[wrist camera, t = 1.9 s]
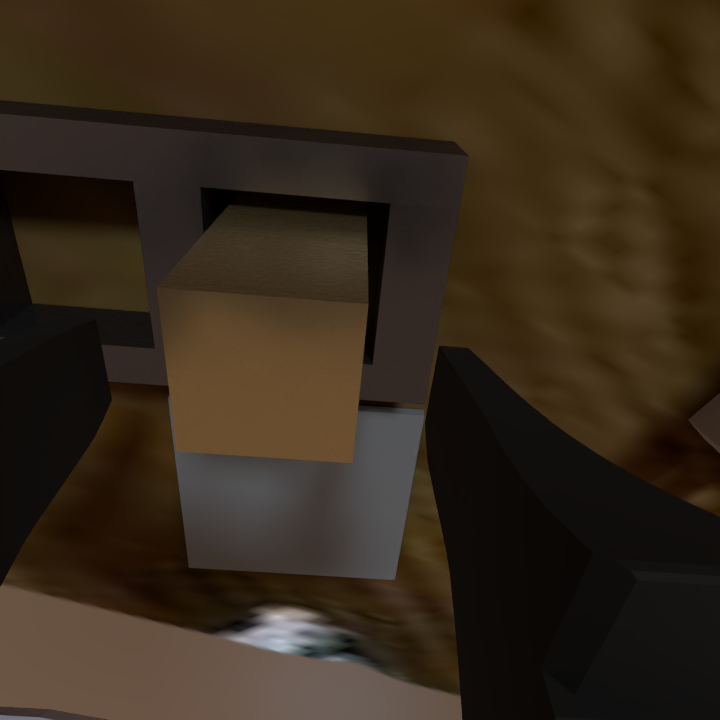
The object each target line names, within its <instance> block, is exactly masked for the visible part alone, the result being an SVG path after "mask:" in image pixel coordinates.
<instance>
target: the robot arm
mask: <svg viewBox="0 0 720 720" xmlns="http://www.w3.org/2000/svg"><path fill="white" fill-rule="evenodd" d="M111 401H112V398H111V392H110V387H109V382H108V377H107V371H106V366H105V361H104V356H103V350H102V345H101V340H100V335H99V329H98V324H97V319H91V318H78V317H63V318H59V319H55V320H52V321H49V322H46V323H43V324H40V325H37V326H34V327H31V328H29V329H26V330H23V331H21V332H18V333H15V334H13V335H10V336H8V337H5V338H2V339H0V586H1V584H2V582H3V581H4V579H5V577H6V575H7V573H8V571H9V569H10V568H11V566H12V564H13V562H14V560H15V558H16V556H17V554H18V553H19V551H20V549H21V547H22V545H23V543H24V542H25V540H26V539H27V537H28V535H29V534H30V532H31V531H32V529H33V527H34V526H35V524H36V523H37V521H38V520H39V518H40V517H41V515H42V514H43V513H44V511H45V510H46V508H47V507H48V505H49V504H50V502H51V501H52V499H53V498H54V497H55V495H56V494H57V492H58V491H59V489H60V488H61V486H62V485H63V483H64V482H65V481H66V479H67V478H68V476H69V475H70V473H71V472H72V470H73V469H74V467H75V466H76V464H77V463H78V461H79V460H80V458H81V457H82V456H83V454H84V453H85V451H86V450H87V448H88V447H89V445H90V443H91V442H92V440H93V439H94V437H95V435H96V433H97V431H98V429H99V427H100V425H101V423H102V421H103V419H104V416H105V414H106V412H107V410H108V407H109V405H110V403H111ZM425 430H426V446H427V459H428V466H429V471H430V476H431V480H432V485H433V490H434V495H435V500H436V504H437V509H438V514H439V519H440V523H441V528H442V533H443V537H444V542H445V547H446V552H447V558H448V564H449V570H450V579H451V589H452V599H453V608H454V618H455V630H456V641H457V653H458V664H459V678H460V692H461V705H462V719H463V720H720V517H719V516H717V515H714V514H712V513H710V512H708V511H706V510H703V509H701V508H699V507H697V506H695V505H693V504H690V503H688V502H686V501H684V500H682V499H679V498H677V497H675V496H673V495H671V494H669V493H667V492H665V491H663V490H661V489H659V488H657V487H655V486H653V485H651V484H649V483H647V482H645V481H644V480H642V479H640V478H638V477H636V476H635V475H633V474H631V473H629V472H627V471H626V470H624V469H622V468H620V467H618V466H617V465H615V464H613V463H611V462H610V461H608V460H607V459H605V458H603V457H602V456H600V455H598V454H597V453H595V452H594V451H592V450H591V449H589V448H588V447H586V446H585V445H583V444H582V443H580V442H579V441H577V440H576V439H574V438H573V437H571V436H570V435H568V434H567V433H565V432H564V431H563V430H561V429H560V428H559V427H557V426H556V425H555V424H553V423H552V422H551V421H550V420H548V419H547V418H546V417H544V416H543V415H542V414H541V413H539V412H538V411H537V410H536V409H534V408H533V407H532V406H531V405H530V404H529V403H527V402H526V401H525V400H524V399H523V398H522V397H520V396H519V395H518V394H517V393H516V392H515V391H514V390H513V389H511V388H510V387H509V386H508V385H507V384H506V383H505V382H504V381H503V380H502V379H501V378H500V377H499V376H497V375H496V374H495V373H494V372H493V371H492V370H491V369H490V368H489V367H488V366H487V365H486V364H485V363H484V362H483V361H482V360H481V359H480V358H479V357H478V356H476V355H475V354H474V353H473V352H472V351H471V350H470V349H468V348H461V347H449V346H439V349H438V355H437V360H436V366H435V371H434V377H433V382H432V388H431V393H430V399H429V404H428V409H427V415H426V420H425ZM0 720H106V719H100V718H94V717H89V716H83V715H78V714H73V713H67V712H62V711H56V710H50V709H33V708H14V707H0Z"/></svg>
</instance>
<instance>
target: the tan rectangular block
mask: <svg viewBox="0 0 720 720" xmlns="http://www.w3.org/2000/svg"><path fill="white" fill-rule="evenodd" d="M157 295H158V303H159V311H160V319H161V328H162V336H163V344H164V352H165V361H166V369H167V377H168V385H169V394H170V402H171V410H172V418H173V427H174V435H175V443H176V451H178V452H193V453H207V454H222V455H237V456H252V457H266V458H281V459H296V460H311V461H325V462H340V463H353V454H354V444H355V434H356V424H357V414H358V404H359V394H360V384H361V375H362V365H363V355H364V345H365V335H366V325H367V315H368V305H369V302H368V249H367V201H356V200H345V199H333V198H322V197H310V196H298V195H287V194H275V193H264V192H252V191H241V192H240V193H239V194H238V195H237V196H236V197H235V198H234V200H233V201H232V202H231V203H230V204H229V205H228V206H227V208H226V209H225V210H224V211H223V212H222V213H221V214H220V216H219V217H218V218H217V219H216V220H215V221H214V222H213V224H212V225H211V226H210V227H209V228H208V229H207V230H206V232H205V233H204V234H203V235H202V236H201V237H200V238H199V240H198V241H197V242H196V243H195V244H194V245H193V246H192V248H191V249H190V250H189V251H188V252H187V253H186V254H185V256H184V257H183V258H182V259H181V260H180V261H179V262H178V264H177V265H176V266H175V267H174V268H173V269H172V270H171V272H170V273H169V274H168V275H167V276H166V277H165V278H164V280H163V281H162V282H161V283H160V284H159V285H158V286H157Z"/></svg>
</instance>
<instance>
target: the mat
mask: <svg viewBox="0 0 720 720" xmlns="http://www.w3.org/2000/svg"><path fill="white" fill-rule="evenodd" d="M168 403H169V411H170V419H171V427H172V435H173V443H174V451H175V459H176V467H177V476H178V484H179V492H180V500H181V508H182V516H183V524H184V532H185V540H186V548H187V556H188V565H189V568H202V569H219V570H236V571H252V572H269V573H286V574H303V575H320V576H336V577H353V578H370V579H387V580H395V575H396V570H397V564H398V559H399V553H400V548H401V542H402V537H403V531H404V526H405V520H406V514H407V509H408V503H409V498H410V492H411V487H412V481H413V476H414V470H415V465H416V459H417V453H418V448H419V442H420V437H421V431H422V426H423V420H424V411H423V410H420V409H406V408H392V407H378V406H364V405H358V414H357V424H356V434H355V444H354V454H353V463H340V462H325V461H311V460H296V459H281V458H266V457H252V456H237V455H222V454H207V453H193V452H178V451H176V443H175V435H174V427H173V418H172V410H171V402H170V395H169V396H168Z"/></svg>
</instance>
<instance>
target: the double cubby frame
mask: <svg viewBox="0 0 720 720" xmlns="http://www.w3.org/2000/svg"><path fill="white" fill-rule="evenodd" d="M468 157H469V156H468V155H467V154H466V153H465V152H464V151H463V150H462V149H461V148H460V147H459V146H458V145H457V144H456V143H455V142H452V141H441V140H430V139H419V138H408V137H397V136H386V135H375V134H364V133H353V132H342V131H331V130H320V129H309V128H298V127H287V126H276V125H265V124H254V123H243V122H233V121H222V120H211V119H200V118H189V117H178V116H167V115H156V114H145V113H134V112H123V111H112V110H101V109H90V108H79V107H68V106H57V105H46V104H35V103H24V102H13V101H2V100H0V170H9V171H20V172H32V173H44V174H55V175H67V176H78V177H90V178H102V179H113V180H125V181H133V185H134V193H135V201H136V208H137V216H138V223H139V231H140V239H141V246H142V254H143V262H144V269H145V277H146V284H147V292H148V300H149V307H150V313H148V312H135V311H122V310H109V309H96V308H83V307H70V306H57V305H44V304H32V303H31V299H30V295H29V291H28V287H27V283H26V279H25V275H24V271H23V267H22V263H21V259H20V255H19V252H18V248H17V244H16V240H15V236H14V232H13V228H12V224H11V220H10V216H9V212H8V208H7V204H6V201H5V197H4V193H3V189H2V185H1V181H0V339H2V338H5V337H8V336H10V335H13V334H15V333H18V332H21V331H23V330H26V329H29V328H31V327H34V326H37V325H40V324H43V323H46V322H49V321H52V320H55V319H59V318H63V317H78V318H91V319H97V324H98V329H99V335H100V340H101V345H102V350H103V356H104V361H105V366H106V371H107V377H108V381H109V382H122V383H136V384H150V385H164V386H169V385H168V377H167V369H166V361H165V352H164V344H163V336H162V328H161V319H160V311H159V303H158V295H157V286H158V285H159V284H160V283H161V282H162V281H163V280H164V278H165V277H166V276H167V275H168V274H169V273H170V272H171V270H172V269H173V268H174V267H175V266H176V265H177V264H178V262H179V261H180V260H181V259H182V258H183V257H184V256H185V254H186V253H187V252H188V251H189V250H190V249H191V248H192V246H193V245H194V244H195V243H196V242H197V241H198V240H199V238H200V237H201V236H202V235H203V234H204V233H205V232H206V230H207V229H208V228H209V227H210V226H211V225H212V224H213V222H214V221H215V220H216V219H217V218H218V217H219V216H220V214H221V213H222V212H223V211H224V209H223V189H229V190H240V191H252V192H264V193H275V194H287V195H298V196H310V197H322V198H333V199H345V200H356V201H368V202H379V203H385V209H384V219H383V228H382V238H381V247H380V256H379V266H378V275H377V284H376V294H375V303H374V313H373V322H372V330H368V329H366V335H365V345H364V355H363V365H362V375H361V384H360V394H359V400H372V401H386V402H399V403H413V404H425V398H426V393H427V387H428V381H429V376H430V370H431V365H432V359H433V353H434V348H435V342H436V337H437V331H438V325H439V320H440V314H441V308H442V303H443V297H444V292H445V286H446V280H447V275H448V269H449V264H450V258H451V252H452V247H453V241H454V236H455V230H456V224H457V219H458V213H459V207H460V202H461V196H462V191H463V185H464V179H465V174H466V168H467V163H468Z"/></svg>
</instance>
